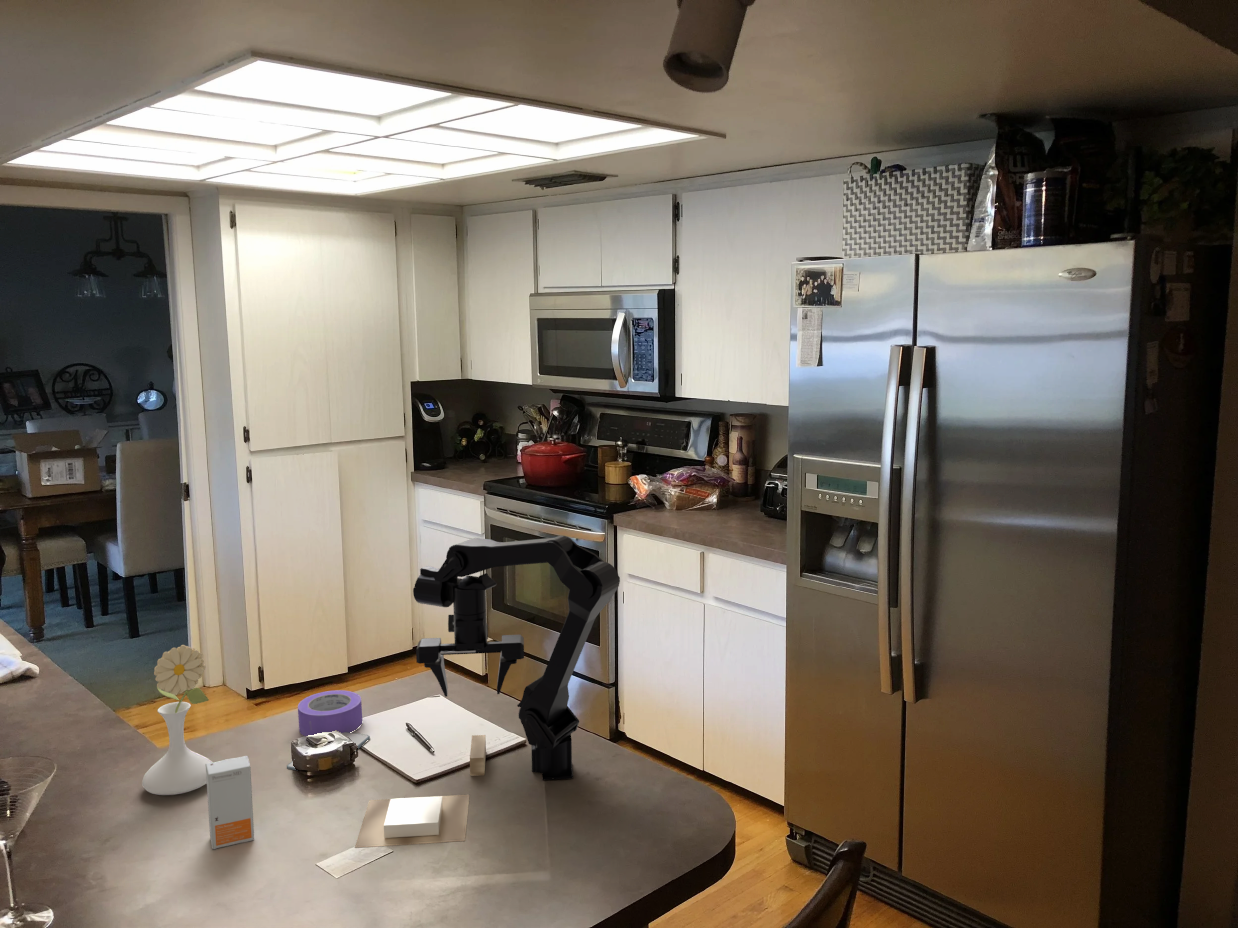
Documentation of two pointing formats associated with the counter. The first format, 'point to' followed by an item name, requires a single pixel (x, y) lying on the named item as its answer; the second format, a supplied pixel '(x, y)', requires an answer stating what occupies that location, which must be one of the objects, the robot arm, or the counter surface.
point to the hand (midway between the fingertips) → (472, 694)
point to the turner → (477, 755)
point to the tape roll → (330, 712)
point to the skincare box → (230, 801)
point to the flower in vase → (178, 724)
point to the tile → (413, 817)
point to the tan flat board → (449, 832)
